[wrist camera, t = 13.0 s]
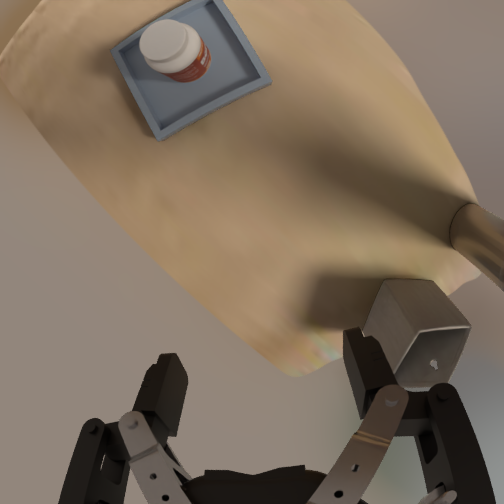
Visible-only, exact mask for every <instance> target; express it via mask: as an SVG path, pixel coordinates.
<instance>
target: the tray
mask: <svg viewBox="0 0 504 504" xmlns="http://www.w3.org/2000/svg"><path fill="white" fill-rule="evenodd" d="M165 19H171V20H175V21H178V22H179V23H184V24H187V25H189V26H191V27H192V28H194V29H195V30H196V32H197V33H198V34H199V36H200V37H201V39H202V40H203V42H204V43H205V45H206V46H207V48H208V49H209V51H210V54H211V65H210V67H209V69H208V71H207V72H206V73H205V74H204V75H203V76H202V77H201V78H199V79H198V80H196V81H193V82H189V83H181V82H177V81H175V80H173V79H171V78H169V77H167V76H165V75H163V74H161V73H159V72H157V71H155V70H154V69H152V68H151V67H150V66H149V65H148V64H147V62H146V61H145V58H144V55H143V54H142V53H141V51H140V47H139V43H140V38H141V36H142V34H143V32H144V31H145V30H146V29H147V28H148V27H149V26H150V25H152V24H153V23H155V22H157V21H160V20H165ZM110 52H111V54H112V56H113V58H114V60H115V62H116V64H117V65H118V67H119V69H120V71H121V73H122V75H123V77H124V79H125V81H126V83H127V85H128V87H129V89H130V91H131V93H132V94H133V96H134V98H135V100H136V102H137V104H138V106H139V108H140V110H141V111H142V113H143V115H144V117H145V119H146V121H147V123H148V124H149V126H150V128H151V130H152V132H153V134H154V135H155V137H156V139H157V141H163V140H165V139H167V138H169V137H170V136H172V135H173V134H175V133H177V132H178V131H180V130H182V129H184V128H185V127H187V126H189V125H191V124H192V123H194V122H196V121H198V120H199V119H201V118H203V117H205V116H207V115H209V114H211V113H212V112H214V111H216V110H218V109H220V108H222V107H224V106H226V105H228V104H230V103H232V102H234V101H236V100H238V99H240V98H242V97H244V96H247V95H249V94H251V93H253V92H255V91H257V90H260V89H262V88H264V87H267V86H269V85H271V84H272V80H271V78H270V76H269V74H268V73H267V71H266V69H265V67H264V66H263V64H262V62H261V60H260V59H259V57H258V55H257V54H256V52H255V50H254V49H253V47H252V45H251V44H250V42H249V40H248V39H247V37H246V35H245V34H244V32H243V31H242V29H241V28H240V26H239V24H238V23H237V21H236V20H235V18H234V17H233V15H232V14H231V12H230V11H229V9H228V8H227V6H226V5H225V3H224V2H223V0H191V1H189V2H187V3H185V4H183V5H181V6H179V7H178V8H176V9H174V10H172V11H170V12H168V13H166V14H165V15H163V16H161V17H159V18H158V19H156V20H154V21H153V22H151V23H149V24H148V25H146V26H145V27H143V28H141V29H140V30H138V31H137V32H135V33H134V34H132V35H131V36H129V37H128V38H126V39H125V40H124V41H122V42H121V43H119V44H118V45H117V46H115V47H114V48H113V49H111V50H110Z"/></svg>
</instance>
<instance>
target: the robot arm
mask: <svg viewBox="0 0 504 504" xmlns="http://www.w3.org/2000/svg"><path fill="white" fill-rule="evenodd" d="M450 240H451V244H452V246H453V247H454V249H455V250H457V251H458V252H459V253H460V254H462V255H463V256H464V257H465V258H466V259H467V260H469V261H470V262H471V263H472V264H473V265H474V266H476V267H477V268H478V269H479V270H480V271H481V272H483V273H484V274H485V275H486V276H487V277H488V278H489V279H490V280H492V281H493V282H494V283H495V284H496V285H497V286H498V287H499V288H500V289H501V290H502V291H504V220H503V219H502V218H500V217H498V216H496V215H494V214H493V213H490V212H489V211H487V210H485V209H483V208H481V207H480V206H478V205H476V204H467V205H465V206H463V207H462V208H461V209H460V210H459V211H458V212H457V214H456V215H455V217H454V219H453V221H452V224H451V229H450ZM343 358H344V363H345V367H346V370H347V374H348V377H349V380H350V384H351V387H352V390H353V394H354V397H355V401H356V405H357V408H358V412H359V416H360V419H364V420H363V422H362V423H361V426H360V427H359V429H358V430H357V432H356V433H354V434H353V436H352V437H351V438H350V440H349V442H348V443H347V445H346V447H345V448H344V450H343V452H342V453H341V455H340V456H339V458H338V460H337V461H336V463H335V465H334V466H333V467H332V469H331V470H330V472H329V473H328V475H327V474H324V473H321V472H318V471H313V470H305V465H299V466H291V467H282V468H277V469H274V470H270V471H267V472H263V473H260V474H256V475H249V474H244V473H238V472H234V471H229V470H205V474H204V475H203V476H199V477H196V478H194V479H192V478H191V476H190V475H189V474H188V473H187V472H186V471H185V469H184V468H183V466H182V465H181V463H180V462H179V460H178V458H177V457H176V455H175V454H174V452H173V450H172V449H171V447H170V446H169V444H168V442H167V439H168V436H172V437H176V436H177V431H178V426H179V421H180V417H181V413H182V408H183V403H184V399H185V395H186V390H187V386H188V376H187V373H186V371H185V369H184V367H183V365H182V363H181V361H180V359H179V357H178V356H177V354H176V353H167V354H161V355H159V358H158V361H157V364H153V365H152V366H151V367H150V368H149V369H148V370H147V372H146V374H145V377H144V381H143V382H142V385H141V388H140V390H139V393H138V395H137V398H136V401H135V404H134V407H133V409H132V411H130V412H127V413H126V414H125V415H123V416H122V417H121V419H120V420H119V421H118V422H113V423H108V424H105V423H104V422H103V421H101V420H100V419H98V418H92V419H90V420H88V421H87V422H86V423H85V424H84V425H83V427H82V430H81V432H80V435H79V438H78V441H77V444H76V447H75V449H74V452H73V456H72V458H71V462H70V465H69V468H68V472H67V474H66V478H65V481H64V484H63V488H62V492H61V495H60V499H59V503H58V504H123V503H124V497H125V492H126V486H127V481H128V476H129V471H130V467H131V470H132V472H133V474H134V476H135V478H136V480H137V482H138V484H139V486H140V488H141V490H142V492H143V494H144V496H145V498H146V500H147V502H148V504H368V503H366V502H365V501H364V500H362V499H361V497H362V495H363V494H364V492H365V490H366V489H367V487H368V485H369V484H370V482H371V480H372V478H373V477H374V475H375V473H376V471H377V469H378V467H379V466H380V464H381V462H382V460H383V458H384V456H385V454H386V452H387V450H388V447H389V445H390V443H391V441H392V439H393V437H394V436H414V438H415V442H416V445H417V449H418V453H419V457H420V461H421V465H422V470H423V474H424V478H425V483H426V488H427V492H428V495H426V496H425V497H424V498H422V499H421V500H420V502H419V503H418V504H496V501H495V496H494V493H493V488H492V485H491V481H490V477H489V474H488V471H487V467H486V465H485V461H484V458H483V455H482V452H481V449H480V446H479V444H478V441H477V438H476V435H475V433H474V430H473V428H472V425H471V422H470V420H469V418H468V415H467V413H466V410H465V408H464V406H463V403H462V402H461V399H460V397H459V394H458V392H457V390H456V389H455V387H453V386H452V385H450V384H448V383H438V384H435V385H434V386H432V387H431V388H430V390H429V391H424V392H411V391H407V390H405V389H404V388H403V387H401V386H400V385H399V384H398V382H397V380H396V378H395V376H394V373H393V371H392V369H391V367H390V364H389V362H388V360H387V358H386V356H385V353H384V352H383V349H382V347H381V345H380V343H379V341H378V340H376V339H375V338H374V337H373V336H372V335H371V336H367V337H364V336H363V334H362V332H361V329H360V328H359V327H357V328H352V329H348V330H344V331H343ZM104 455H105V458H104V461H103V457H104ZM102 461H103V465H102V469H101V464H102Z"/></svg>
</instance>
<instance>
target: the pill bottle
mask: <svg viewBox="0 0 504 504" xmlns="http://www.w3.org/2000/svg"><path fill="white" fill-rule="evenodd" d="M139 47H140V51H141V53H142V54H143V55H144V58H145V61H146V62H147V64H148V65H149V66H150V67H151V68H152V69H154V70H155V71H157V72H159V73H161V74H163V75H165V76H167V77H169V78H171V79H173V80H175V81H177V82H181V83H189V82H193V81H196V80H198V79H199V78H201V77H202V76H203V75H204V74H205V73H206V72H207V71H208V69H209V67H210V65H211V54H210V51H209V49H208V48H207V46H206V45H205V43H204V42H203V40H202V39H201V37H200V36H199V34H198V33H197V32H196V30H195V29H194V28H192V27H191V26H189V25H187V24H184V23H179V22H178V21H175V20H171V19H165V20H160V21H157V22H155V23H153V24H152V25H150V26H149V27H148V28H147V29H146V30H145V31H144V32H143V34H142V36H141V38H140V43H139Z"/></svg>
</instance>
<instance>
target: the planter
mask: <svg viewBox="0 0 504 504" xmlns="http://www.w3.org/2000/svg"><path fill="white" fill-rule="evenodd" d="M471 328H472V327H471V324H470V323H469V322H468V320H467V319H466V318H465V317H464V315H463V314H462V313H461V312H460V311H459V309H458V308H457V307H456V306H455V305H454V304H453V302H452V301H451V300H450V299H449V298H448V297H447V296H446V294H445V293H444V292H443V291H442V290H441V289H440V288H439V287H438V286H437V285H436V283H435V282H434V281H428V280H414V279H386V280H384V281H383V283H382V285H381V287H380V290H379V292H378V294H377V296H376V299H375V301H374V303H373V306H372V308H371V310H370V313H369V316H368V318H367V321H366V323H365V326H364V328H363V333H364V336H365V337H367V336H371V335H372V336H373V337H374V338H375V339H376V340H378V341H379V343H380V345H381V347H382V349H383V352H384V353H385V356H386V358H387V360H388V362H389V364H390V367H391V369H392V371H393V373H394V376H395V378H396V380H397V382H398V384H399V385H400V386H401V387H403V388H416V387H417V388H420V387H432V386H434V385H435V384H438V383H448V382H449V380H450V378H451V376H452V374H453V372H454V370H455V368H456V366H457V364H458V362H459V360H460V357H461V355H462V353H463V351H464V348H465V345H466V343H467V340H468V337H469V334H470V332H471ZM435 360H436V361H437V366H438V369H437V370H435V368H434V367H432V366H431V362H432V361H435Z"/></svg>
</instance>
